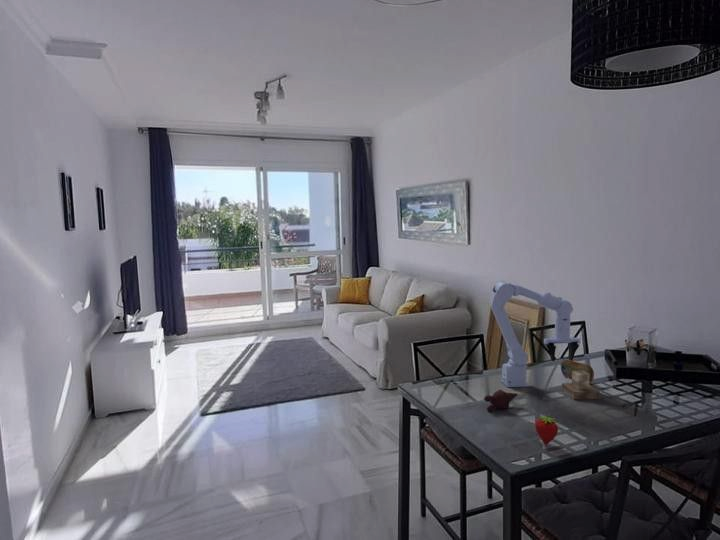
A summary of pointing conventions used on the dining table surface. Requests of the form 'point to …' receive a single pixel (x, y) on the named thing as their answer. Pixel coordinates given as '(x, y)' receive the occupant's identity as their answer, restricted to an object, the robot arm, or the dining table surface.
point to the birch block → (580, 379)
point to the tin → (576, 368)
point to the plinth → (580, 392)
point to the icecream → (499, 400)
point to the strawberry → (546, 429)
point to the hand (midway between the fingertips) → (561, 360)
